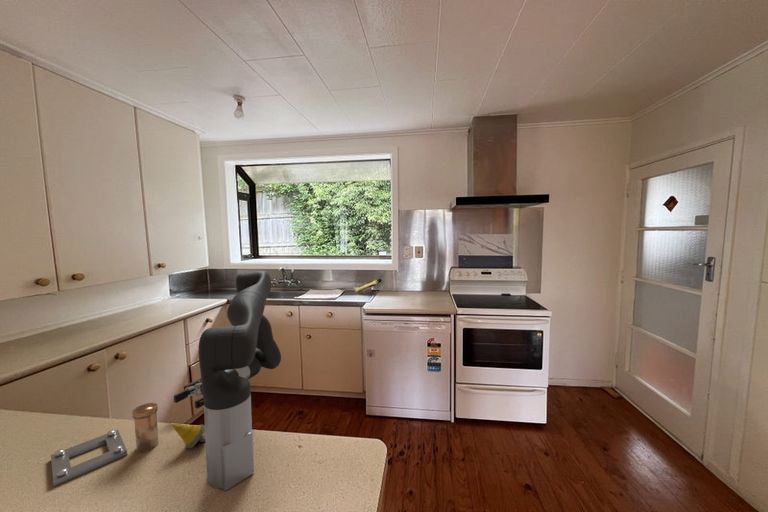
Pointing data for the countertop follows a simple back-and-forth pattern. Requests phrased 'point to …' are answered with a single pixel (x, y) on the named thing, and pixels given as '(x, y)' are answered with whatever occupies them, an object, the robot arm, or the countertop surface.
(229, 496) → the countertop surface
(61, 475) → the flange
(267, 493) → the countertop surface
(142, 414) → the pipe stub
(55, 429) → the countertop surface
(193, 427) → the drill bit
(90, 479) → the countertop surface
